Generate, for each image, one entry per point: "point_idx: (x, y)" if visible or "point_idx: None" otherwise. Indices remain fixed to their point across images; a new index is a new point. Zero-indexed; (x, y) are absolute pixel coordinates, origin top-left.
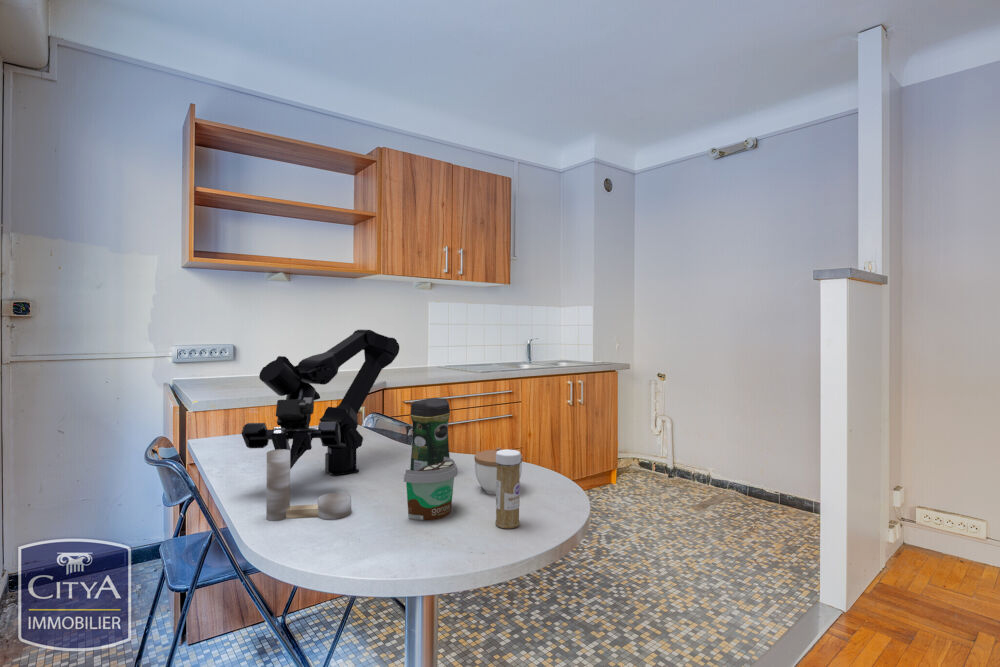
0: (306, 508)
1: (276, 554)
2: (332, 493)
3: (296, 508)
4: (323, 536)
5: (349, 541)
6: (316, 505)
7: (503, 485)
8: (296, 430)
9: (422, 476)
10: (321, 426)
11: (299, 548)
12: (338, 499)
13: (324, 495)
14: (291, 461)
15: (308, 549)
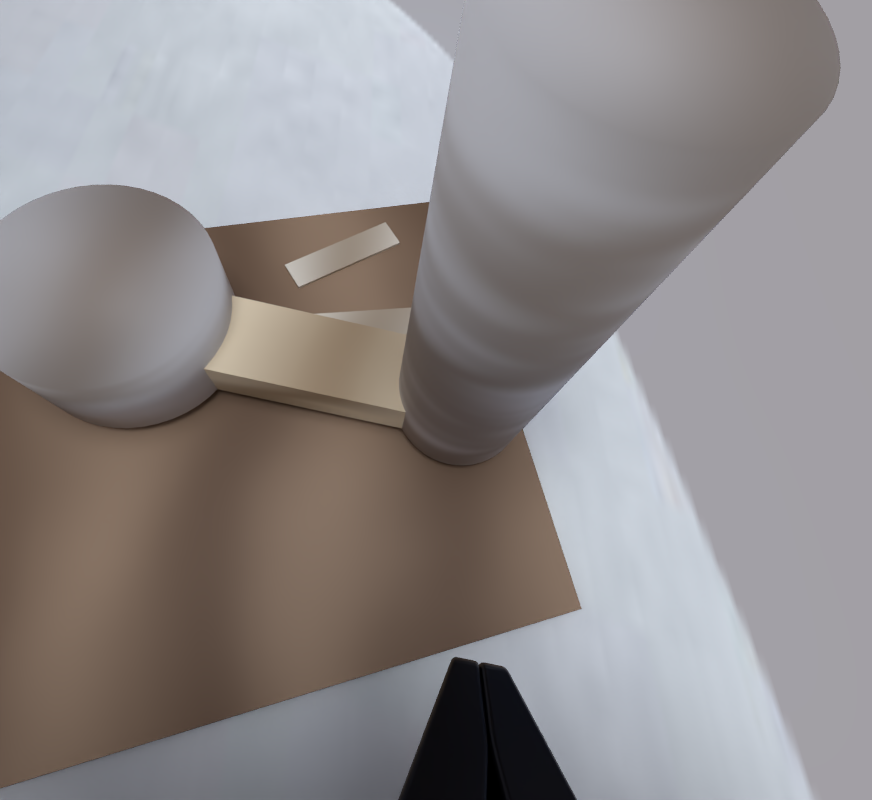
0: (301, 323)
1: (439, 85)
2: (81, 373)
3: (360, 347)
4: (255, 152)
5: (161, 73)
6: (233, 355)
7: None
8: None
9: None
10: None
11: (360, 94)
12: (80, 235)
13: (154, 349)
14: (419, 748)
15: (328, 75)
